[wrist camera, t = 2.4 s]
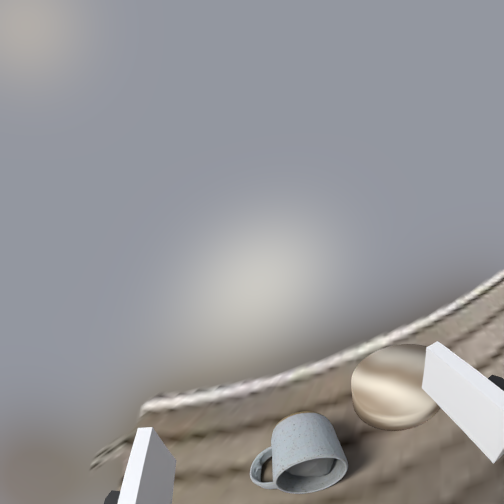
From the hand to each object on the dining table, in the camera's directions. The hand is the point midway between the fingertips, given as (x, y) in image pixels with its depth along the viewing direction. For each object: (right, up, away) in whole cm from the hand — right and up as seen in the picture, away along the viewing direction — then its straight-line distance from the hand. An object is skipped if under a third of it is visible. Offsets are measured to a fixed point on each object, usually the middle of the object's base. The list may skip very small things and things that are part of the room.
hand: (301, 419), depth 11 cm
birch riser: (+19, -13, +21) cm, 31 cm away
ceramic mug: (+3, -18, +14) cm, 23 cm away
